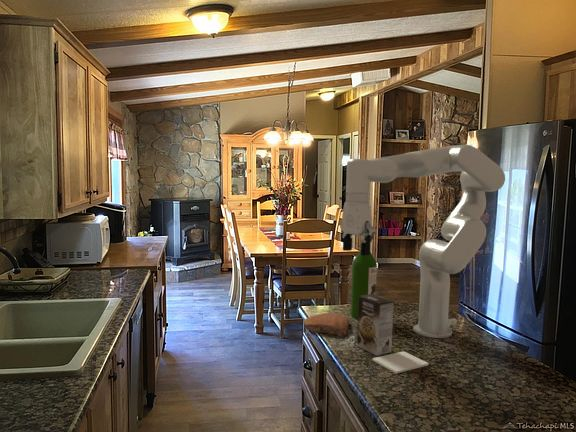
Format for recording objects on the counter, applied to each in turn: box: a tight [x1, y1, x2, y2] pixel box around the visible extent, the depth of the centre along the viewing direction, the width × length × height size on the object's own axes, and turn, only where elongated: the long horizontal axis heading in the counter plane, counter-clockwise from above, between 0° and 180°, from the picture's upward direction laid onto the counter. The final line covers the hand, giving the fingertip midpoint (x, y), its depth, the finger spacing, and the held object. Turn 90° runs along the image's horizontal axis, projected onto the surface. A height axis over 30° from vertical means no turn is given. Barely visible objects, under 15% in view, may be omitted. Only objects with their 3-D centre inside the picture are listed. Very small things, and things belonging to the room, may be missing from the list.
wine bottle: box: [350, 236, 378, 320], centre depth 180 cm, size 9×9×32 cm
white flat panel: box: [372, 350, 429, 374], centre depth 138 cm, size 12×10×1 cm
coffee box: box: [356, 294, 395, 357], centre depth 148 cm, size 9×6×16 cm
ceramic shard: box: [303, 312, 350, 337], centre depth 167 cm, size 15×6×15 cm
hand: (356, 252), depth 154 cm, fingers open, 8 cm apart
